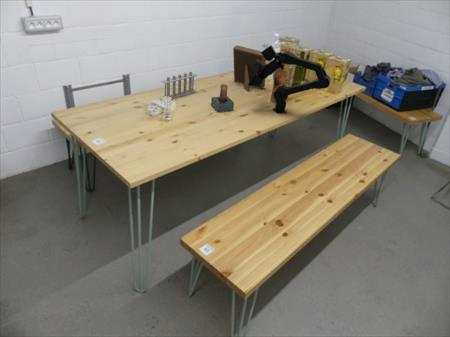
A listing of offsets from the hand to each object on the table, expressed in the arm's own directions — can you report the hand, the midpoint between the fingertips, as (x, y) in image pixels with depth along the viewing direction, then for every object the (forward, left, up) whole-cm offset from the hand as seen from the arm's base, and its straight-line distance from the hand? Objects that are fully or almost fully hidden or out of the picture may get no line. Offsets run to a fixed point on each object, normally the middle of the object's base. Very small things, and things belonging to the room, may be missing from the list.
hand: (250, 82), depth 211 cm
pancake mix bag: (+4, -23, -14) cm, 27 cm away
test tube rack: (+21, +37, -14) cm, 44 cm away
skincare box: (+19, -35, -14) cm, 42 cm away
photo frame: (+29, -12, -14) cm, 34 cm away
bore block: (-2, +17, -14) cm, 22 cm away
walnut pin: (-2, +17, -13) cm, 22 cm away
